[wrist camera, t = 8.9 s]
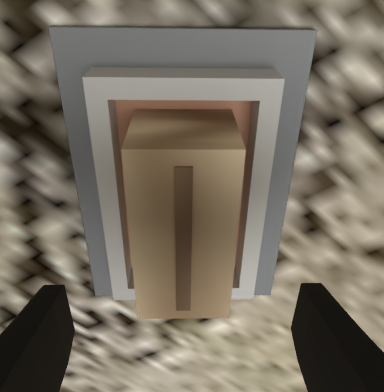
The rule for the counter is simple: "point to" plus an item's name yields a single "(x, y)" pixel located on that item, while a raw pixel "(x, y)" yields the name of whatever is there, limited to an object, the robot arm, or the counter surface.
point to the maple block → (183, 210)
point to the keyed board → (182, 99)
